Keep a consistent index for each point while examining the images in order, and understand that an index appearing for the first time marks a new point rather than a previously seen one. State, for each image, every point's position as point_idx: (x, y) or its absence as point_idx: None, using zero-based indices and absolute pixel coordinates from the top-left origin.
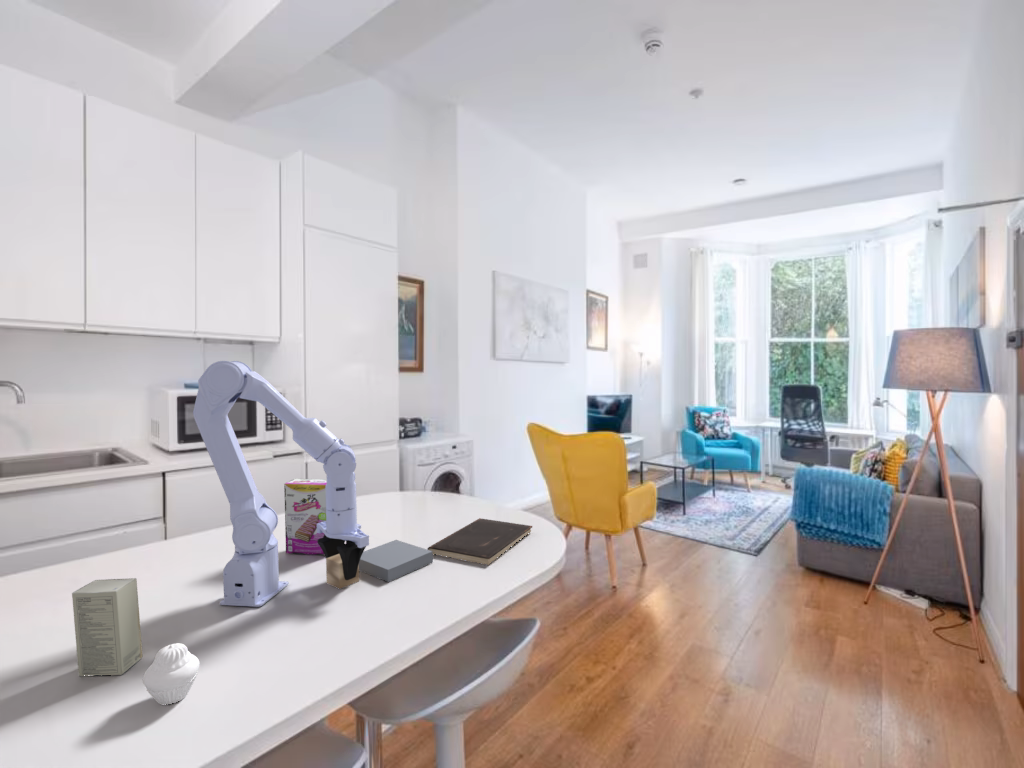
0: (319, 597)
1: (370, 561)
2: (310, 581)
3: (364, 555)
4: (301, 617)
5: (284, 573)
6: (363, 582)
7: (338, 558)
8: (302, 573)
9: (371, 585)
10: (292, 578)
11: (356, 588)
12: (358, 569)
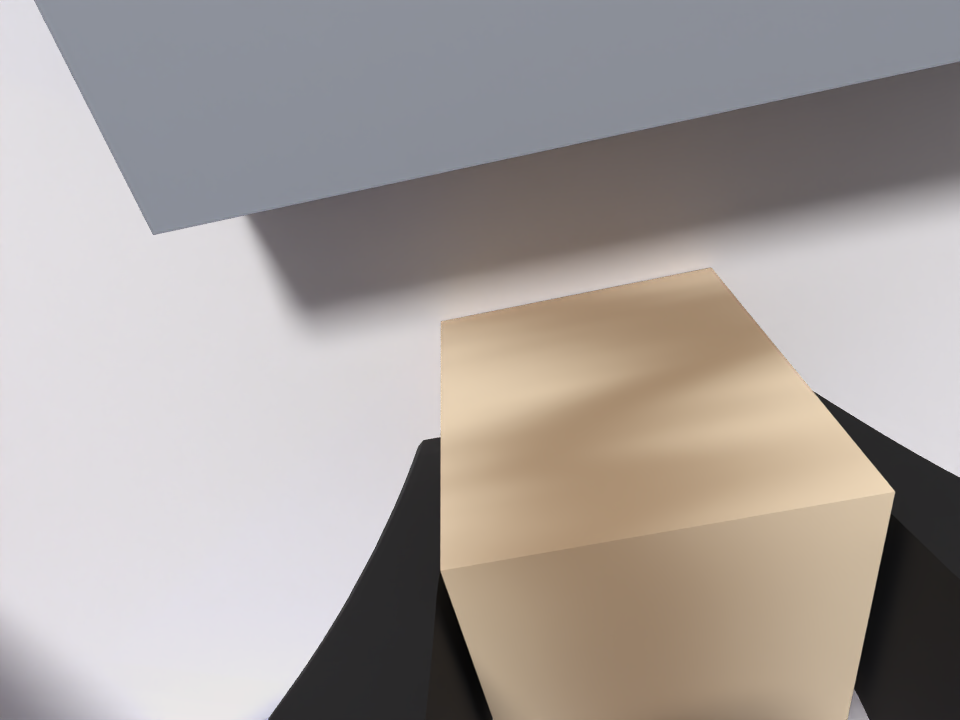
0: None
1: (683, 67)
2: (349, 581)
3: (275, 11)
4: (860, 710)
5: (35, 668)
6: (785, 243)
7: (666, 702)
8: (110, 586)
9: (942, 205)
10: (190, 650)
11: (841, 356)
12: (772, 351)
